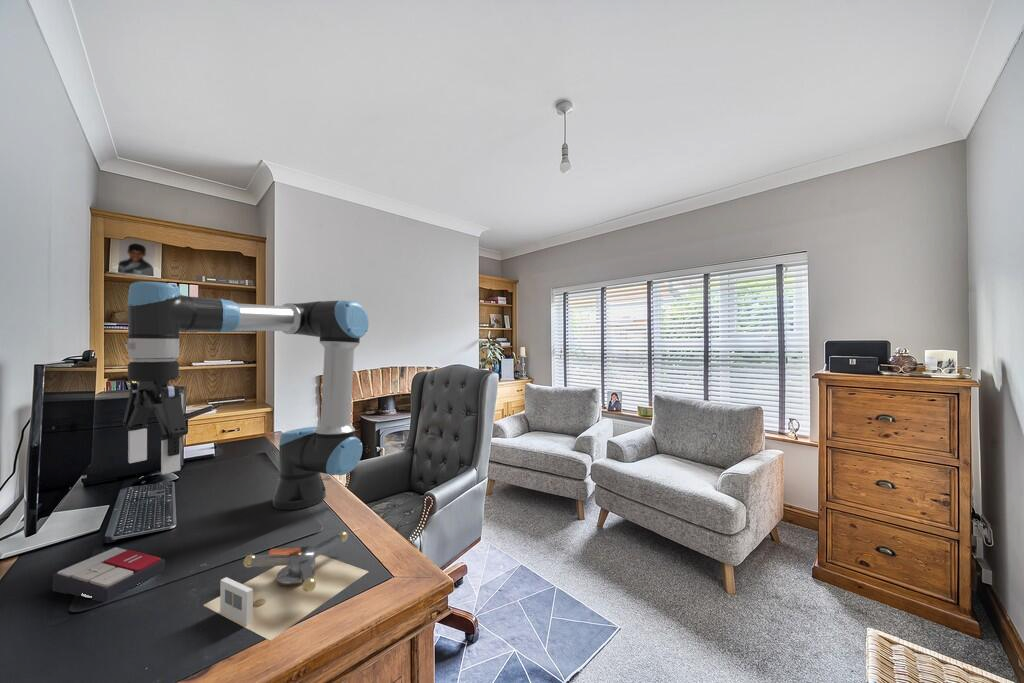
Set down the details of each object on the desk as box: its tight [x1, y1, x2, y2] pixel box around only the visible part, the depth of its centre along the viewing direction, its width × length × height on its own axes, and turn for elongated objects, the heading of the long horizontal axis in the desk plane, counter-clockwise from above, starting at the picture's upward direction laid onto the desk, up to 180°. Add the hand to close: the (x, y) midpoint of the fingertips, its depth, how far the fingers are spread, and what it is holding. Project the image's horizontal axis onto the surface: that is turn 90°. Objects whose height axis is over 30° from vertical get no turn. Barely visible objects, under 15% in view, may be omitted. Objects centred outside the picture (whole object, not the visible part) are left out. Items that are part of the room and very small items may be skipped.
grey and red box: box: [51, 547, 166, 603], centre depth 84 cm, size 11×4×15 cm
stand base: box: [203, 554, 370, 642], centre depth 80 cm, size 22×20×2 cm
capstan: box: [243, 531, 349, 592], centre depth 86 cm, size 18×21×6 cm
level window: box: [219, 576, 253, 626], centre depth 71 cm, size 1×8×6 cm, turn 65°
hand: (153, 466), depth 78 cm, fingers open, 13 cm apart
